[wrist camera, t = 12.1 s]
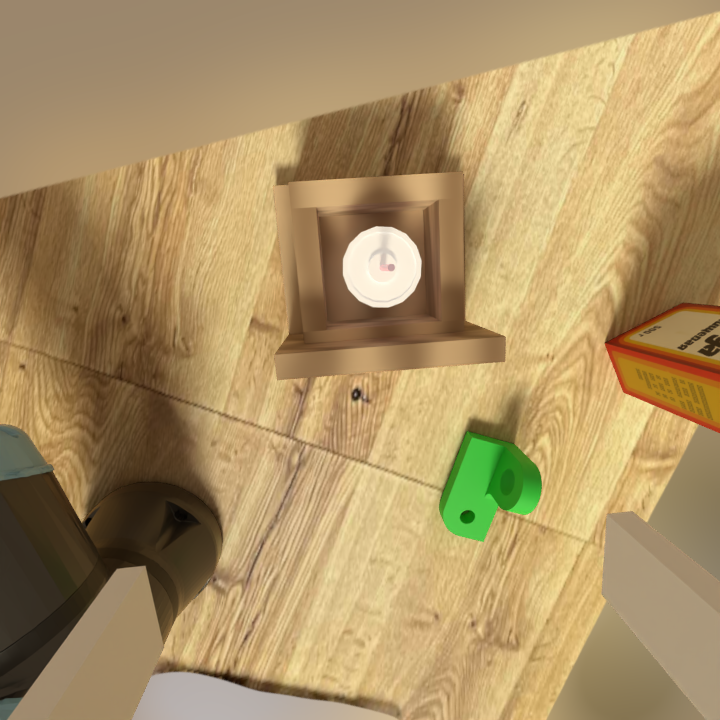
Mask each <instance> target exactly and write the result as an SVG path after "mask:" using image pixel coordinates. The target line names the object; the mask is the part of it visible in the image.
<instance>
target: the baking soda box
mask: <svg viewBox="0 0 720 720" xmlns="http://www.w3.org/2000/svg"><path fill="white" fill-rule="evenodd" d="M605 346H606V348H607V351H608V354H609V356H610V359H611V361H612V364H613V367H614V369H615V372H616V374H617V377H618V380H619V382H620V385H621V387H622V390H623V392H624V393H626V394H629V395H631V396H633V397H636V398H638V399H640V400H643V401H645V402H647V403H650V404H652V405H655V406H657V407H659V408H662V409H664V410H666V411H669V412H671V413H673V414H676V415H678V416H680V417H683V418H685V419H688V420H690V421H692V422H695V423H697V424H699V425H702V426H704V427H706V428H709V429H712V430H714V431H716V432H718V433H720V306H713V305H702V304H691V303H681V304H680V305H678V306H676V307H674V308H672V309H670V310H668V311H666V312H664V313H662V314H660V315H658V316H656V317H654V318H652V319H650V320H649V321H647V322H645V323H643V324H641V325H639V326H637V327H635V328H633V329H631V330H629V331H627V332H625V333H623V334H621V335H619V336H618V337H616V338H614V339H612V340H610V341H608V342H606V343H605Z"/></svg>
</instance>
